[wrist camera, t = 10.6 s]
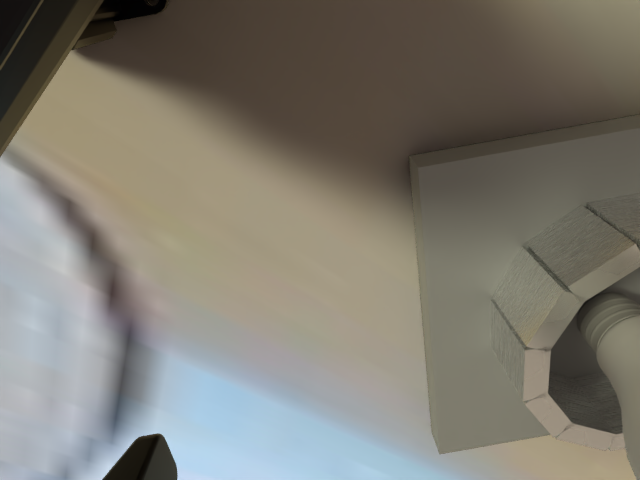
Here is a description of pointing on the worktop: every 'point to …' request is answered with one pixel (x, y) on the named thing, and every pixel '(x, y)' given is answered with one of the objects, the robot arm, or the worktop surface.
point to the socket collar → (565, 316)
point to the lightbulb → (618, 358)
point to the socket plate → (503, 262)
